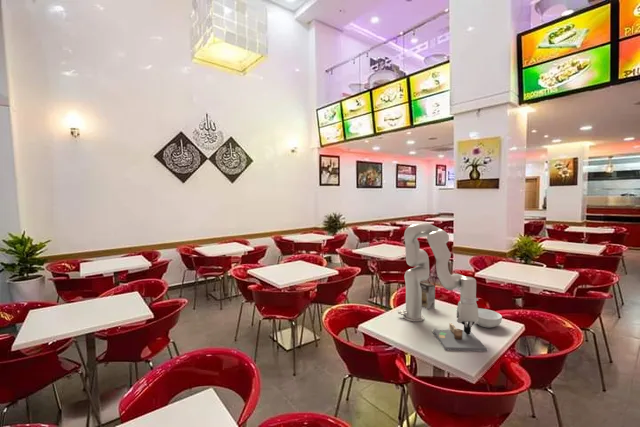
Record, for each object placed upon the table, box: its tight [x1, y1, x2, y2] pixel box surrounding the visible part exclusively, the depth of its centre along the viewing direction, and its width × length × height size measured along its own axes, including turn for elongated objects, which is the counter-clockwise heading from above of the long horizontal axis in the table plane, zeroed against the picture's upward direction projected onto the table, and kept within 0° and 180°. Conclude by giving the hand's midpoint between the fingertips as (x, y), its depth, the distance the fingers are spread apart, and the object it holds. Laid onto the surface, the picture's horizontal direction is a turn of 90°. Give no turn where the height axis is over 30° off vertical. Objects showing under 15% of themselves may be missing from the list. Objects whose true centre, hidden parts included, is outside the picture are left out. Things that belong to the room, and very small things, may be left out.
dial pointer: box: [448, 322, 463, 340], centre depth 166 cm, size 13×4×4 cm, turn 177°
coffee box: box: [420, 281, 436, 310], centre depth 211 cm, size 9×6×16 cm
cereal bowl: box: [476, 307, 503, 329], centre depth 181 cm, size 17×17×7 cm
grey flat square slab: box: [432, 329, 488, 352], centre depth 161 cm, size 20×20×2 cm
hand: (467, 333), depth 165 cm, fingers closed
